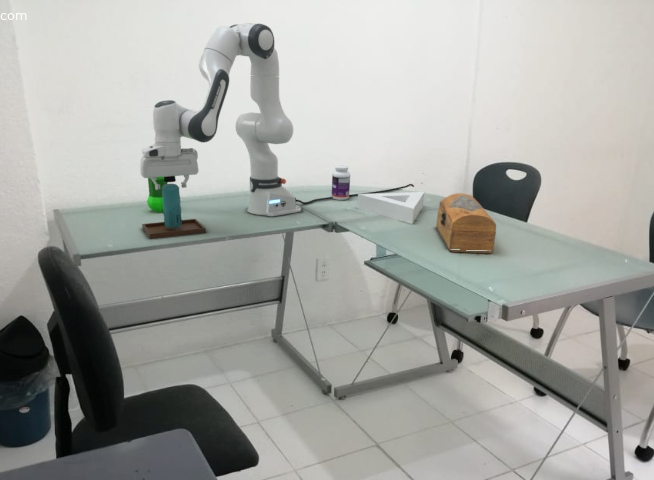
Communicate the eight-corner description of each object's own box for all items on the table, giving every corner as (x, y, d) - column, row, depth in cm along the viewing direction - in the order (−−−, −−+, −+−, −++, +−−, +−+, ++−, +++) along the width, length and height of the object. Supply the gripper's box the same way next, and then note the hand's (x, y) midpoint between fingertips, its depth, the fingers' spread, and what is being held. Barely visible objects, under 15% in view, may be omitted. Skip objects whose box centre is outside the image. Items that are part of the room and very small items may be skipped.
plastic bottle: (162, 205, 255) (157, 145, 245) (177, 210, 249) (173, 149, 239) (142, 210, 248) (136, 148, 238) (157, 215, 242) (152, 152, 232)
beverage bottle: (178, 232, 219) (174, 177, 211) (161, 230, 221) (157, 176, 213) (185, 227, 225) (182, 173, 217) (168, 226, 226) (164, 172, 218)
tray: (195, 223, 233) (195, 218, 232) (205, 232, 222) (205, 228, 221) (142, 228, 225) (142, 223, 224) (149, 238, 214) (149, 234, 213)
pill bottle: (330, 196, 277) (331, 164, 271) (347, 196, 277) (348, 164, 272) (332, 200, 269) (334, 168, 264) (350, 200, 270) (352, 168, 264)
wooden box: (433, 227, 234) (437, 192, 228) (476, 229, 233) (481, 193, 227) (444, 252, 206) (449, 213, 201) (493, 254, 206) (499, 214, 200)
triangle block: (357, 208, 258) (358, 194, 256) (396, 199, 274) (397, 185, 272) (412, 224, 238) (413, 208, 235) (451, 213, 254) (453, 198, 251)
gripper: (194, 146, 218) (196, 184, 224) (137, 149, 210) (141, 188, 216) (199, 149, 213) (201, 187, 218) (141, 152, 205) (144, 192, 210)
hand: (171, 188), depth 217 cm, fingers open, 8 cm apart
